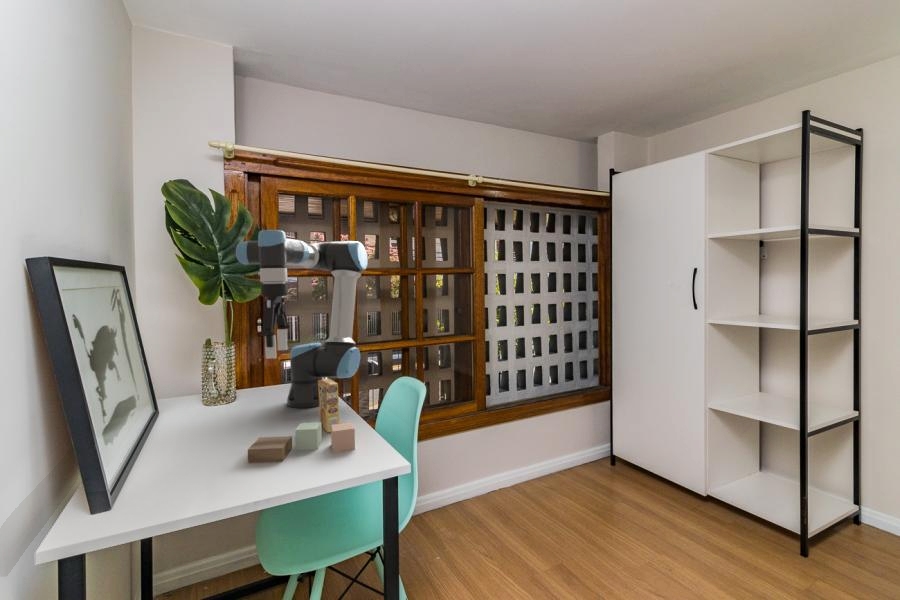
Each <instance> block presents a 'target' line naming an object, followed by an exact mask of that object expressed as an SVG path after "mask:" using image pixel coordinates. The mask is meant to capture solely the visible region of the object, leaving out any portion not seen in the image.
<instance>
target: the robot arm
mask: <svg viewBox="0 0 900 600" xmlns="http://www.w3.org/2000/svg"><path fill="white" fill-rule="evenodd" d="M257 236H258V240H245V241H240V242H239V243H237V245H236V248H235V257H236V258H237V261H238V262H239V263H240V264H242V265H249V266H250V265H259V271H258V272H257V274H258V276H259V277H260V278H259V279H260V280H259V281H260V283H261V284H260V286H259V287H260V296H261V297H264V298H266V297H267V300H264V302H263V304H264V305H263V306H264V307H263V318H262V319H263V320H262V329H261V330H262V331H261V334H260V335H261V337H264V344H265V345H264V348H265V349H264V350H265V359H267V360H269V359H270V360H271V359H277V351H287V350H288V329H290V325H289V322H288V317H287V316H288V315H287V310H286V309H287V308H286V304H285V303H286V301H285V300H286V299H285V298H284V297H286V296H288V295H289V286H288V283H286V282H288V278H289V277H288V268H287V266H301V267H302V268H305V269H312V270H319V271H320V270H321V271H328V272H329V271H330V272H331V273H330V274H331V275H333V277H334V281H333V282H334V283H333V293H332V294H333V295H332V306H331V315H330V317H331V318H330V327H329V337H328V338H327V339H326V340H325V341H324V346H322V343H321V342H310V343H304V344H299V345H296V346H295V345H294V346H293V347H291V349H290V353H289V360H290V361H289V362H290V381H291V382H290V388H289V392H288V394H287V395H288V396H287V399H286V405H287V407H290V408H293V409H308V408H315V407H319V393H318V380H323V378H330V379H331V378H334V379H344V378H346V379H349V378H351V377H353V376H354V375H355V374H356V373H357V371H358V370H359V367H360V363H361V351H360V349H359V348H358V347H356V341H354V339H353V329H354V321H355V319H354V318H355V306H356V295H357V293H356V292H357V281H358V279H359V278H360V277H362V272H363V271H365V270H366V269H367V268H368V263H369V261H368V254H367V251H366V248H365V246H364V245H363V243H362V242H360V241H356V240H355V241H354V240H348V241H324V242H317V243H306V242H304V241H303V240H299V239H292V238H289V239H288V238H287V237H286V233H285V231H284V230H282V229H281V230H279V229H263V230H260V231H259V232H258V235H257ZM276 327H277V328H278V329H277V330H276ZM275 331H276V333H277V334H275ZM276 335H277V336H276ZM276 337H277V341H276Z"/></svg>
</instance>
